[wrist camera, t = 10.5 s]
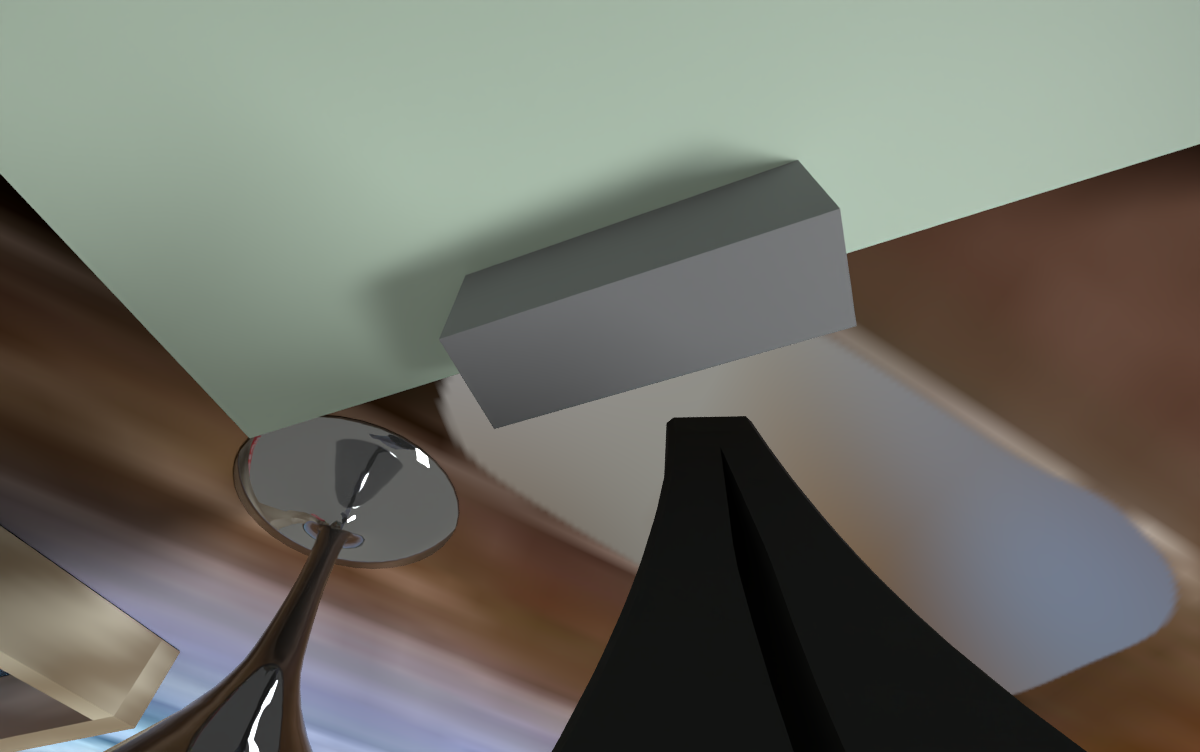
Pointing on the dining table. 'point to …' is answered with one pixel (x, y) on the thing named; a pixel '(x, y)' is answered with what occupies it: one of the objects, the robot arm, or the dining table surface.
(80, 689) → the bottle frame
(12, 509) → the dining table surface
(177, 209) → the slide cover
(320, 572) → the wine glass
